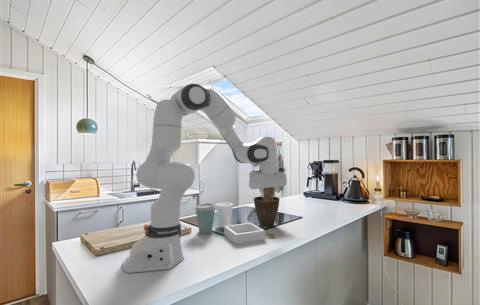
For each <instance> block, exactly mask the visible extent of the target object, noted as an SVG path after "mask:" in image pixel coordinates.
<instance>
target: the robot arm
mask: <svg viewBox="0 0 480 305" xmlns="http://www.w3.org/2000/svg"><path fill="white" fill-rule="evenodd" d="M198 111H201V112H202V113H204V114H205V115H206V117H207V118H208V119H209V121H210V122H212V124H213V126H214V127H215V128H216V129H217V130H218V133H220V135H221V136H222V138H223V139H224V141H225V142H226V144H228V146H229V147H230V149H231V151H232V154H233V157H234V159H235V161H237V163H240V164H258V169H253V170H252V169H251V171H250V172H249V174H248V175H249V176H248V177H249V180H248V188H249V189H250V190H259V191H258V192H260V194H261V195H260V196H261V197H266V196H265V195H266V194H265V193H264V192H263V190H264V188H271V187H273V189H274V197H276V193H277V192H276V191H277V190H278V188H280V187H286V186H287V180H288V179H287V174H286V168H285V167H283V166H279V165H277V159H276V158H277V143H276V139H274V138H273V137H270V136H260V137H259V138H258V139H257V140H256V141H254V142H252V143H245V142H243V141H242V140H241V139H240V137H239V135H238V134H237V133H236V132H235V129H234V125H235V123H236V118H237V117H236V116H237V115H236V113H235V111H234V109H233V108H232V106H231V105H230V104H229V103H228V101H227V100H226V99H225V98H224V97H223V95H221V93H219V92H218V91H217V90H216V89H214V88H205V87H203V86H202V85H201V84H197V83H189V84H186V85H185V86H184V87H181V88H180V89H178V90H177V92H175V93H174V94H173V95H172V96H171V98H170V99H162V100H160V101H158V102H157V103H156V106H155V110H154V114H153V123H152V135H151V145H150V150H149V152H148V154H147V157H146V158H145V160H144V162H142V164H141V165H139V167H138V168H137V171H136V174H135V175H136V180H137V182H138V184H139V185H141V186H142V187H143V186H144V187H147V188H148V189H156V190H160V193H159V197H158V199H156V200H154V201H153V203H152V204H151V206H150V224H149V225H148V224H144V225H143V230H144V235H143V237H141V238H140V239H139V240H138V241H136V242H135V243H134V244H133V245H132V247H131V248H130V252H129V255H128V256H127V257H126V258H125V259H124V260H123V263H122V268H123V271H124V272H126V273H129V274H132V273H133V274H135V273H145V272H153V271H155V272H156V271H164V270H170V269H172V268H173V267H175V266H176V265H177V264H179V263H181V262H182V261H183V260H184V258H185V256H184V254H183V253H184V252H183V248H182V243H181V237H182V236H181V235H182V226H181V225H182V223H181V222H180V221H181V220H180V217H181V216H180V215H181V213H180V212H181V203H182V199H183V197H184V195H185V194H186V192H187V190H189V189H190V188H191V187H192V185H193V184H194V182H195V179H196V175H195V170H194V168H193V167H192V166H191V165H190V164H188V163H184V162H181V161H171V159H172V157H173V155H174V154H175V153H176V152H178V150H179V149H180V148H181V143H182V121H183V117H184V116H188V115H190V114H191V115H192V114H194V113H196V112H198Z"/></svg>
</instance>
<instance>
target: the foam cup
mask: <svg viewBox="0 0 480 305" xmlns="http://www.w3.org/2000/svg"><path fill="white" fill-rule="evenodd" d="M233 209H234V208H233V203H231V202H218V203H216V204H215V210H216V214H217V222H218V228H219V229H221V228H223V229H224V226H229V225H231V223H232V215H233Z"/></svg>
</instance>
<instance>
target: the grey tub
mask: <svg viewBox="0 0 480 305" xmlns="http://www.w3.org/2000/svg"><path fill="white" fill-rule="evenodd" d="M265 231H266V230H265V229H263V228H261V227H259V226H257V225H255V224H254V223H252V222H246V223H239V224H238V223H237V224H230V225H229V226H224V228H223V235H224V236H225V237H226V238H227V239H228V240H229V241H231V242H232V243H233V244H235V245H243V244H249V243H254V242H255V243H256V242H259V241H265V240H266V238H265V234H266V232H265Z"/></svg>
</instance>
